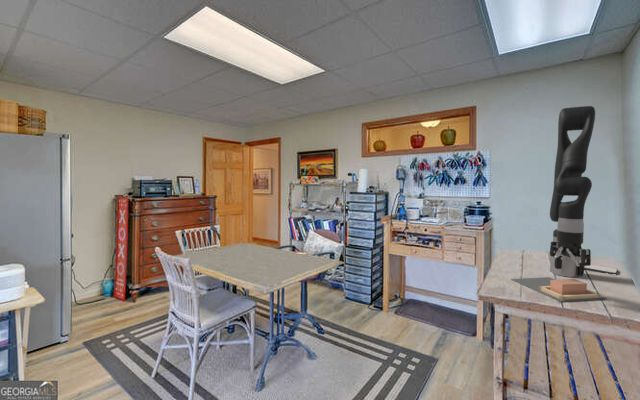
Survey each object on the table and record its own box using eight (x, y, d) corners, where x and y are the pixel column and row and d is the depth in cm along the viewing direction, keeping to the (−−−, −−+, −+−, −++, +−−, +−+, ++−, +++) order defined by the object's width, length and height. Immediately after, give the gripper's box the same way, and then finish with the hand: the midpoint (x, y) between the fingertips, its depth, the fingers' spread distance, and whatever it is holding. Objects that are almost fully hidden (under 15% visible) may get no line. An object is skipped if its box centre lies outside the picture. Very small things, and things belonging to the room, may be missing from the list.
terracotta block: (573, 290, 115) (574, 278, 114) (586, 295, 110) (586, 283, 109) (550, 291, 114) (550, 280, 113) (561, 296, 109) (562, 284, 108)
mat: (511, 279, 128) (511, 276, 128) (549, 278, 130) (549, 274, 130) (560, 302, 105) (561, 297, 105) (606, 299, 106) (606, 295, 106)
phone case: (618, 272, 138) (574, 264, 151) (618, 269, 138) (574, 261, 150) (616, 276, 133) (570, 268, 145) (616, 273, 133) (570, 265, 145)
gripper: (598, 233, 103) (596, 278, 105) (562, 226, 117) (560, 266, 119) (579, 234, 103) (577, 279, 104) (544, 227, 117) (543, 266, 118)
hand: (568, 272), depth 111 cm, fingers open, 8 cm apart
